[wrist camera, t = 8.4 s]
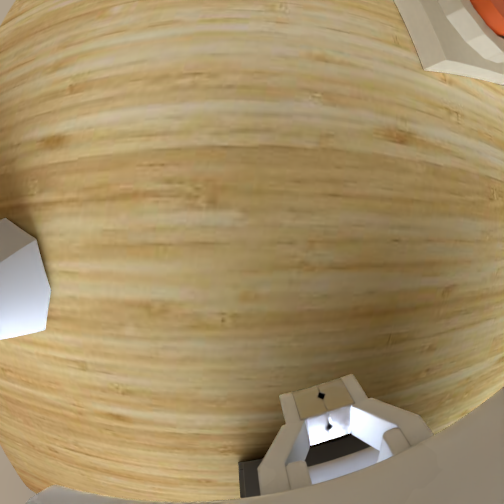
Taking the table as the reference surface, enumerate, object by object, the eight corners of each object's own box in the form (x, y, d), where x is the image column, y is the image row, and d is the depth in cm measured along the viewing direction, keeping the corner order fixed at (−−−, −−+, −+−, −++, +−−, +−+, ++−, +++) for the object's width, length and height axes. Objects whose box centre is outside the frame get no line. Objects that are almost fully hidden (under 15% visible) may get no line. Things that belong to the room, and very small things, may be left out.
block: (423, 70, 11) (468, 51, 7) (375, -30, 9) (402, -61, 5) (506, 86, 11) (542, 80, 7) (470, 1, 9) (499, -14, 5)
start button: (481, 28, 7) (501, 20, 5) (455, -19, 6) (471, -30, 4) (510, 42, 7) (527, 37, 5) (487, -3, 6) (502, -10, 4)
